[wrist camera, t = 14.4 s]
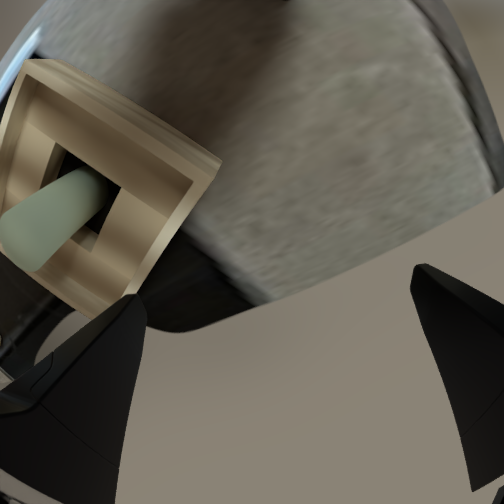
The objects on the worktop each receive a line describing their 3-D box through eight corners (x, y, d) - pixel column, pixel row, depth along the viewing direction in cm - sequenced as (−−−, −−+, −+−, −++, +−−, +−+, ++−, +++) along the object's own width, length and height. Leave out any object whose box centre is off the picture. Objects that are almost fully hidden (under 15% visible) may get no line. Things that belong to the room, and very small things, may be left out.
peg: (79, 156, 19) (3, 197, 11) (116, 182, 20) (50, 235, 12) (63, 196, 21) (-4, 248, 13) (97, 220, 22) (38, 283, 14)
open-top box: (61, 59, 15) (25, 59, 11) (222, 161, 19) (213, 178, 16) (9, 213, 21) (-19, 233, 17) (128, 300, 26) (112, 332, 22)
